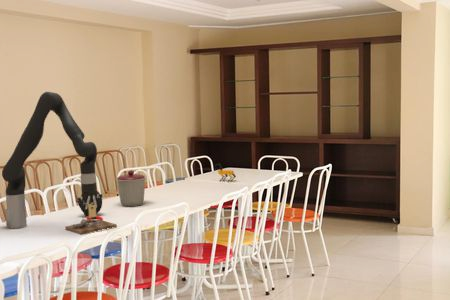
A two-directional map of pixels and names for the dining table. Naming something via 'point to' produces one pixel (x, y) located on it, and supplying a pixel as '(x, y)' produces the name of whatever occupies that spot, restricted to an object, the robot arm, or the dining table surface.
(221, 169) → the robot dog
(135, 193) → the canister
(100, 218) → the grey red upright piece
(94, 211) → the coupler
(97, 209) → the decorative egg
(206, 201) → the dining table surface
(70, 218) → the dining table surface
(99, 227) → the shaft rig
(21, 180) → the robot arm
